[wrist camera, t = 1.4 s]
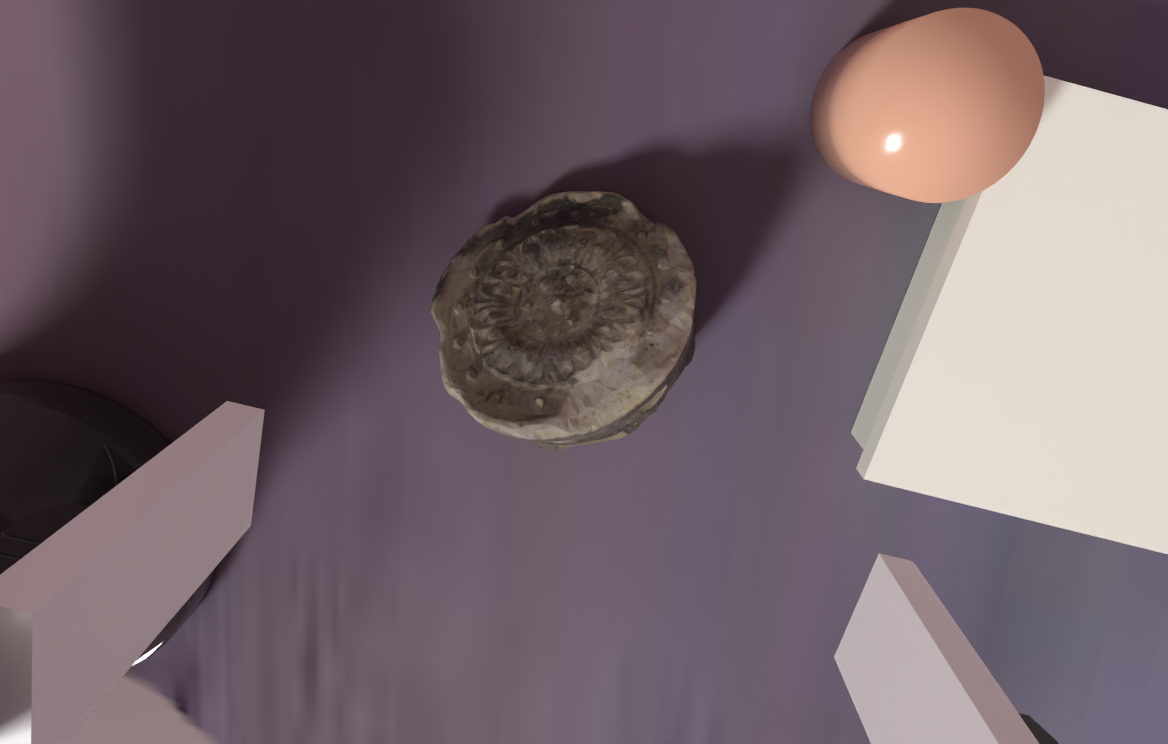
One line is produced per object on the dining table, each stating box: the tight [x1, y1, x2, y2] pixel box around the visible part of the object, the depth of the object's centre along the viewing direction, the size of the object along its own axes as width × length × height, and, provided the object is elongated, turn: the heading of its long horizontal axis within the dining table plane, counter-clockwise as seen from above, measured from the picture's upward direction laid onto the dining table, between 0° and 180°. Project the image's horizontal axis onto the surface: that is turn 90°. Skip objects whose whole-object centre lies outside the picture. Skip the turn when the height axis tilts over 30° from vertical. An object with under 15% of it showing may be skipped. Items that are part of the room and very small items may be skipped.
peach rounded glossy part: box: [810, 8, 1045, 203], centre depth 28 cm, size 6×6×6 cm
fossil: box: [430, 191, 697, 451], centre depth 31 cm, size 11×9×10 cm
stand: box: [851, 75, 1168, 554], centre depth 31 cm, size 16×16×4 cm
